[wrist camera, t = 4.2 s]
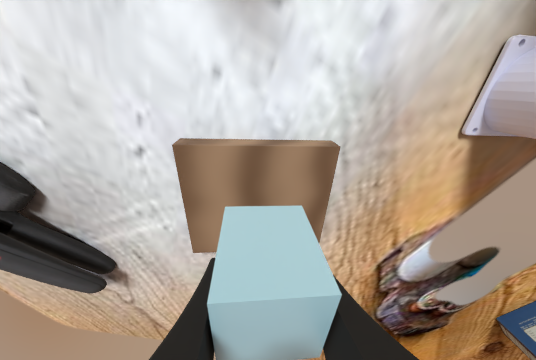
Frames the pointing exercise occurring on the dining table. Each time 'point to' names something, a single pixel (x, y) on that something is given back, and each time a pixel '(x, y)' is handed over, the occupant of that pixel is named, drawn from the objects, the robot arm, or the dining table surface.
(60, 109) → the dining table surface
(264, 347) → the blue block
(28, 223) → the can opener
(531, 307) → the protein box
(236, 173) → the walnut block
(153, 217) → the dining table surface
